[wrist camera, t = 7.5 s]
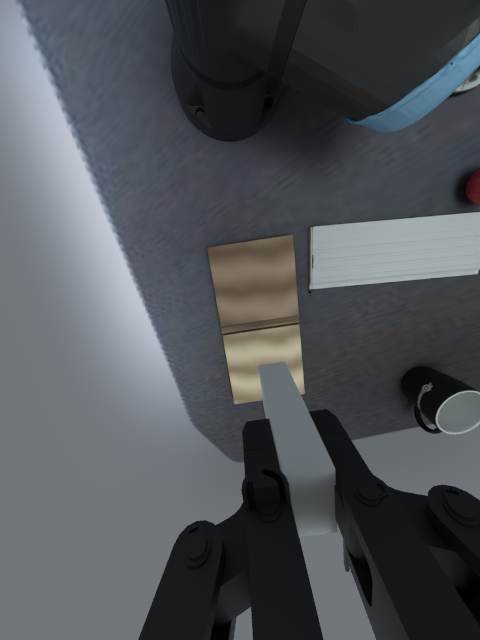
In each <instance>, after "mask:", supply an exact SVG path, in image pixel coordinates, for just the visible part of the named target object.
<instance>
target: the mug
mask: <svg viewBox="0 0 480 640" xmlns="http://www.w3.org/2000/svg"><path fill="white" fill-rule="evenodd" d="M403 389H404V391H405V393H406V395H407V396H408V398H409V399H410V400H411V401H412V403H413V404H414V414H415V418H416V421H417V422H418V424H419V425H420V427H421V428H422V429H424V430H425V431H427V432H429V433H433V434H436V433H440V432H442V431H443V432H445V433H448V434H461V433H465V432H467V431H469V430H471V429H473V428H475V427H476V426H477V425H479V423H480V392H479V391H477V390H476V389H474V388H472V387H470V386H468V385H466V384H465V383H463V382H461V381H459V380H457V379H455V378H452V377H450V376H448V375H446V374H444V373H441V372H439V371H436V370H433V369H429V368H416V369H413V370H412V371H410V372H409V373H408V374H407V375H406V376H405V377H404V380H403ZM420 411H421V412H422V413H423V414H424V415H425V416H426V417H427V418H428V419H429V420H430V421H431V422H432V423H433V424H434V425H435V426H436V427H437V428H436V429H434V430H432V429H429V428H428V427H427V426H426V425H425V424H424V422H423V421H422V418H421V414H420Z"/></svg>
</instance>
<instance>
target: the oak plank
mask: <svg viewBox="0 0 480 640" xmlns="http://www.w3.org/2000/svg"><path fill="white" fill-rule="evenodd" d="M223 341H224V346H225V352H226V358H227V364H228V369H229V375H230V381H231V386H232V392H233V398H234V404H239V403H246V402H253V401H259V400H263V397H262V389H261V382H260V375H259V368H258V365H264V364H271V363H277V362H284V361H285V362H286V365H287V367H288V369H289V371H290V373H291V375H292V377H293V380H294V382H295V384H296V386H297V388H298V390H299V392H300V394H305V391H304V378H303V366H302V353H301V340H300V327H299V324H298V323H291V324H284V325H278V326H271V327H264V328H257V329H251V330H244V331H237V332H230V333H224V334H223Z"/></svg>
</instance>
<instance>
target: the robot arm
mask: <svg viewBox="0 0 480 640" xmlns="http://www.w3.org/2000/svg"><path fill="white" fill-rule="evenodd" d="M165 2H166V5H167V9H168V12H169V16H170V20H171V23H172V27H173V36H172V45H171V70H172V77H173V82H174V85H175V89H176V92H177V95H178V97H179V100H180V103H181V105H182V107H183V109H184V111H185V113H186V114H187V116H188V117H189V119H190V120H191V121H192V122H193V124H194V125H195V126H196V127H197V128H198V129H200V130H201V131H202V132H204V133H205V134H207V135H209V136H210V137H213V138H215V139H218V140H223V141H237V140H242V139H245V138H247V137H249V136H251V135H253V134H255V133H256V132H257V131H259V130H260V129H261V128H262V127H263V126H264V125H265V124H266V123H267V121H268V120H269V119H270V117H271V116H272V114H273V112H274V110H275V108H276V106H277V103H278V100H279V97H280V94H281V91H282V87H283V83H284V84H286V85H288V86H290V87H291V88H293V89H295V90H297V91H299V92H301V93H302V94H304V95H306V96H308V97H310V98H312V99H313V100H315V101H317V102H319V103H321V104H323V105H325V106H326V107H328V108H330V109H332V110H334V111H336V112H337V113H339V114H341V115H343V116H345V118H346V120H347V121H348V122H350V123H352V124H360V125H363V126H365V127H367V128H369V129H371V130H373V131H376V132H379V133H388V132H395V131H399V130H401V129H404V128H406V127H408V126H410V125H411V124H413V123H415V122H416V121H418V120H420V119H421V118H423V117H424V116H425V115H427V114H428V113H429V112H431V111H432V110H433V109H434V108H436V107H437V106H438V105H439V104H440V103H442V102H443V101H444V100H445V99H446V98H447V97H449V96H450V95H451V94H452V93H453V92H454V91H455V90H456V89H457V88H458V87H459V86H460V85H461V84H462V83H463V82H464V81H465V80H466V79H467V78H468V77H469V76H470V75H471V74H472V73H473V72H474V71H475V70H476V69H477V68H478V67H479V66H480V0H165ZM258 368H259V375H260V382H261V389H262V397H263V404H264V410H265V414H266V419H262V420H255V421H248V422H246V424H245V427H244V429H243V431H242V433H243V449H244V464H245V479H244V480H243V485H242V495H243V501H244V502H243V504H242V505H241V507H240V509H239V510H238V511H237V512H236V513H235V514H234V515H232V516H231V517H230V518H228V519H226V520H224V521H223V522H221V523H219V524H217V525H214V524H213V523H211V522H208V521H196V522H194V523H192V524H191V525H189V526H187V527H186V528H185V529H184V530H183V531H182V532H181V534H180V535H179V537H178V539H177V540H176V542H175V544H174V546H173V549H172V552H171V554H170V557H169V560H168V562H167V565H166V567H165V570H164V573H163V576H162V578H161V581H160V584H159V586H158V589H157V591H156V594H155V597H154V599H153V602H152V605H151V608H150V610H149V613H148V615H147V618H146V621H145V624H144V626H143V629H142V631H141V634H140V637H139V640H233V638H234V631H235V624H236V617H237V616H238V615H240V614H241V613H242V612H244V611H245V610H247V609H248V608H250V607H251V611H252V628H253V640H323V636H322V632H321V628H320V623H319V619H318V615H317V611H316V607H315V602H314V598H313V594H312V590H311V586H310V581H309V577H308V573H307V569H306V564H305V560H304V556H303V552H302V548H301V543H300V539H299V538H300V537H306V536H313V535H320V534H327V533H334V532H337V524H338V526H339V528H340V531H341V534H342V537H343V545H344V565H345V570H346V572H347V571H349V566H350V569H351V572H352V575H353V577H354V580H355V583H356V585H357V588H358V591H359V594H360V596H361V599H362V602H363V604H364V607H365V610H366V613H367V615H368V618H369V621H370V624H371V626H372V629H373V632H374V634H375V637H376V640H480V500H478V499H477V498H475V497H474V496H472V495H471V494H469V493H468V492H466V491H463V490H461V489H459V488H456V487H453V486H447V485H438V486H433V487H432V488H431V489H430V490H429V492H428V496H425V495H419V494H413V493H408V492H403V491H399V490H395V489H393V488H391V487H389V486H387V485H386V484H385V483H384V482H383V481H382V480H380V479H379V478H377V477H376V476H374V475H373V474H372V473H371V471H370V470H369V469H368V467H367V465H366V464H365V462H364V460H363V459H362V457H361V456H360V454H359V452H358V451H357V449H356V448H355V446H354V444H353V443H352V441H351V439H350V438H349V437H348V435H347V433H346V431H345V430H344V429H343V426H342V425H341V423H340V422H339V420H338V418H337V417H336V416H335V415H334V414H332V413H331V412H330V411H328V410H327V409H324V410H318V411H311V412H308V409H307V407H306V405H305V403H304V401H303V399H302V397H301V394H300V392H299V390H298V388H297V386H296V384H295V382H294V380H293V377H292V375H291V373H290V371H289V369H288V367H287V365H286V362H285V361H284V362H277V363H271V364H264V365H258Z"/></svg>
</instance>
